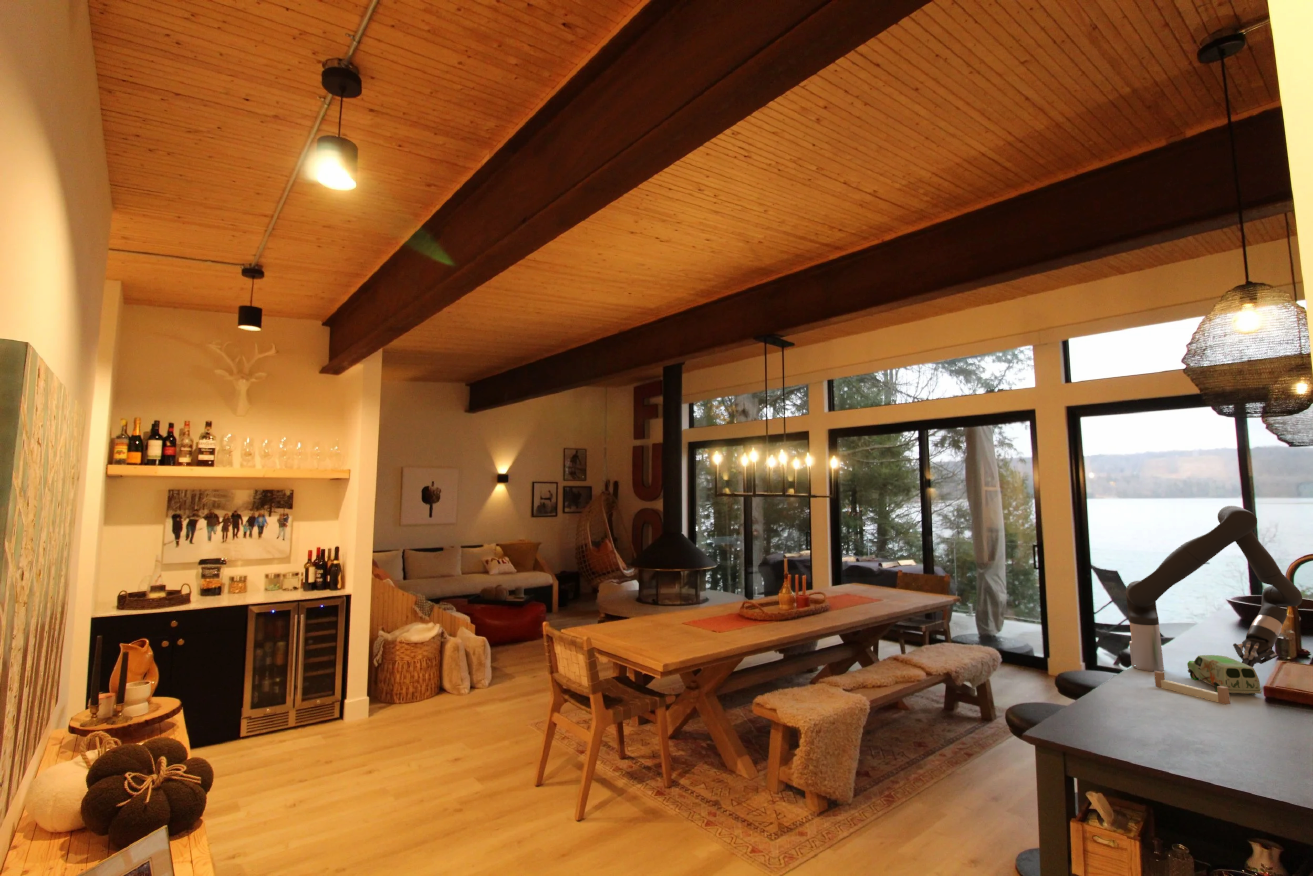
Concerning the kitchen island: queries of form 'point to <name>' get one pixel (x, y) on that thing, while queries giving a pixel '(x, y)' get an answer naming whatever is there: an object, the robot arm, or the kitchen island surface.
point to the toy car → (1225, 673)
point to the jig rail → (1193, 689)
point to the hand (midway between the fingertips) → (1244, 669)
